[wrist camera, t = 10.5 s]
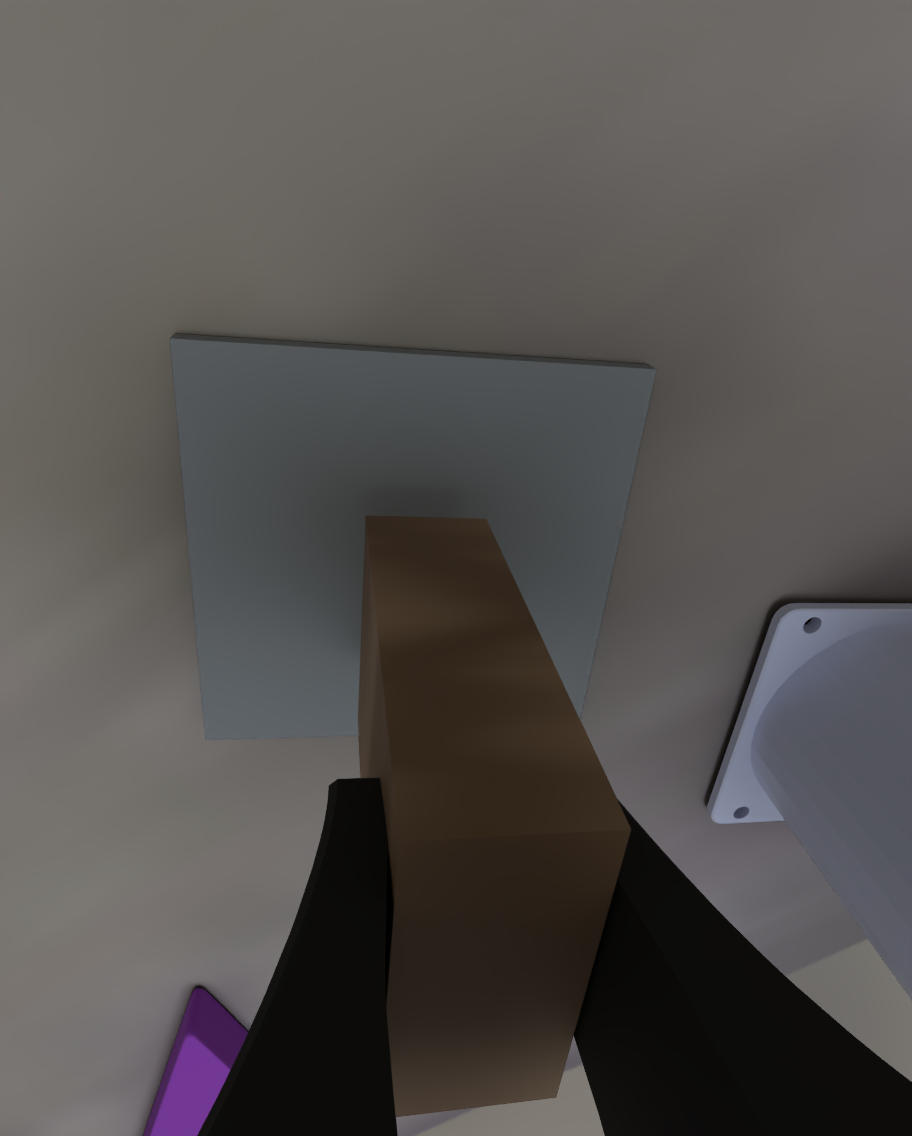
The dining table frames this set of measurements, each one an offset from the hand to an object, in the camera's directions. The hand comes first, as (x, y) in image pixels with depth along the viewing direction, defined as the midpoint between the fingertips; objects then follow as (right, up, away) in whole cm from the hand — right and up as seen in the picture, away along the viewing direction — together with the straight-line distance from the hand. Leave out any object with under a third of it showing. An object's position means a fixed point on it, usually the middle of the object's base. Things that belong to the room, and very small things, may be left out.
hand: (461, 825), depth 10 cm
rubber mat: (-1, +4, +7) cm, 8 cm away
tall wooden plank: (-1, +2, +5) cm, 6 cm away
